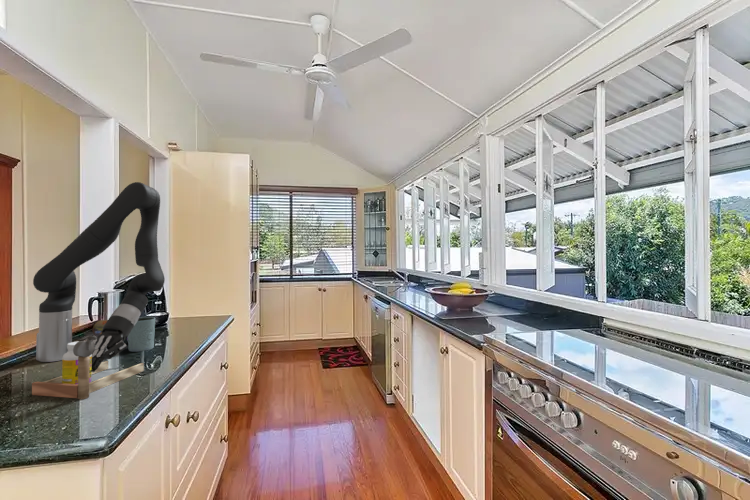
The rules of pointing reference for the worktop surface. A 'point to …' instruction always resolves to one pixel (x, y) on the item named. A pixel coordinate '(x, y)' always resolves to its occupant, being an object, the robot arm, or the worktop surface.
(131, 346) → the grey green cup
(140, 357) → the worktop surface
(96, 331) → the tin
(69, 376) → the supplement bottle
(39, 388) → the wooden frame stand
